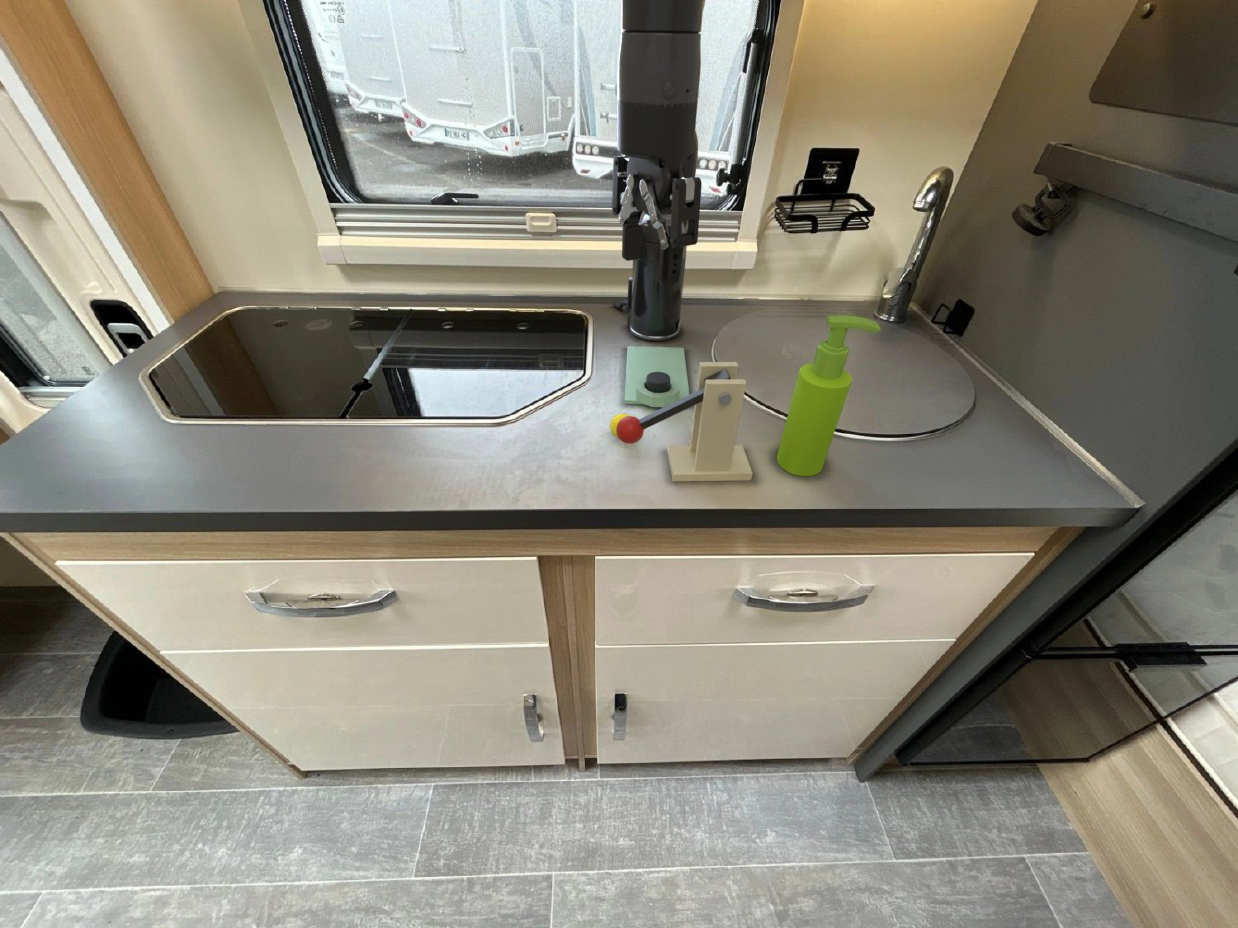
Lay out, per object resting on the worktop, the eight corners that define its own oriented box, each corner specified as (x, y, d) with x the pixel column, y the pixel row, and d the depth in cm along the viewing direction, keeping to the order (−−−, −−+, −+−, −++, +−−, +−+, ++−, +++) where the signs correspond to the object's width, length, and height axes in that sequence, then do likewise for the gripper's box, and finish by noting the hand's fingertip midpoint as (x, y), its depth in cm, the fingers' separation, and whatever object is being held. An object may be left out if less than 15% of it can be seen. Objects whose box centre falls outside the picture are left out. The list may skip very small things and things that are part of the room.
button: (645, 381, 81) (646, 371, 80) (669, 381, 81) (670, 371, 80) (645, 393, 78) (646, 383, 77) (670, 394, 78) (671, 383, 77)
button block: (627, 349, 94) (627, 336, 92) (683, 351, 93) (684, 338, 92) (623, 410, 78) (624, 395, 77) (690, 412, 78) (692, 398, 77)
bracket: (672, 481, 66) (682, 386, 57) (667, 452, 70) (675, 360, 62) (751, 480, 66) (772, 385, 57) (740, 451, 71) (759, 359, 62)
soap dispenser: (833, 480, 66) (886, 333, 54) (777, 472, 67) (816, 326, 55) (828, 452, 71) (876, 311, 58) (776, 446, 72) (812, 305, 59)
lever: (625, 453, 64) (611, 434, 62) (624, 437, 67) (610, 418, 65) (740, 399, 60) (729, 377, 58) (733, 384, 63) (723, 362, 61)
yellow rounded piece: (613, 445, 71) (606, 421, 70) (616, 431, 77) (610, 408, 76) (637, 439, 71) (630, 415, 70) (639, 425, 76) (632, 402, 75)
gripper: (736, 102, 45) (712, 287, 56) (654, 88, 55) (647, 248, 65) (661, 104, 43) (651, 298, 53) (589, 90, 52) (592, 256, 63)
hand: (648, 270), depth 59 cm, fingers open, 8 cm apart
